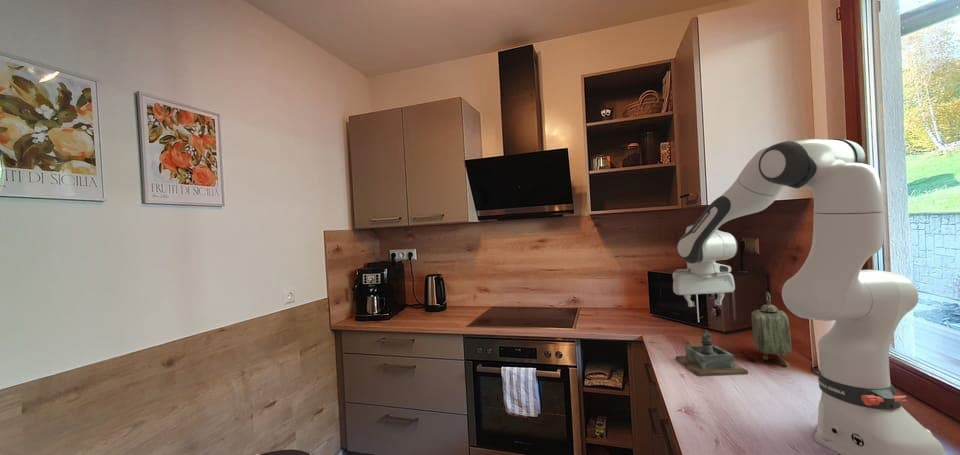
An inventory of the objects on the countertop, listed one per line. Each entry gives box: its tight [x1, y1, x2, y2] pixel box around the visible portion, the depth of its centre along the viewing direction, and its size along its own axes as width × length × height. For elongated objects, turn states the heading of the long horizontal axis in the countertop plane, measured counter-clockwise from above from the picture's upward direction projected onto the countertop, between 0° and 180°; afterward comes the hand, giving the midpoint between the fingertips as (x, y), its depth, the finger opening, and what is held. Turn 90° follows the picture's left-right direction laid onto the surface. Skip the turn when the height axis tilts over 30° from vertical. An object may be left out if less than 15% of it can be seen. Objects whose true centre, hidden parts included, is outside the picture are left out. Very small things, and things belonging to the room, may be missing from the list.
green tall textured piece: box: [750, 291, 793, 367], centre depth 128 cm, size 14×9×25 cm, turn 148°
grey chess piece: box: [699, 329, 717, 355], centre depth 127 cm, size 6×6×12 cm
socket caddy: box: [675, 344, 749, 377], centre depth 127 cm, size 16×16×6 cm
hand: (704, 305), depth 127 cm, fingers open, 8 cm apart
